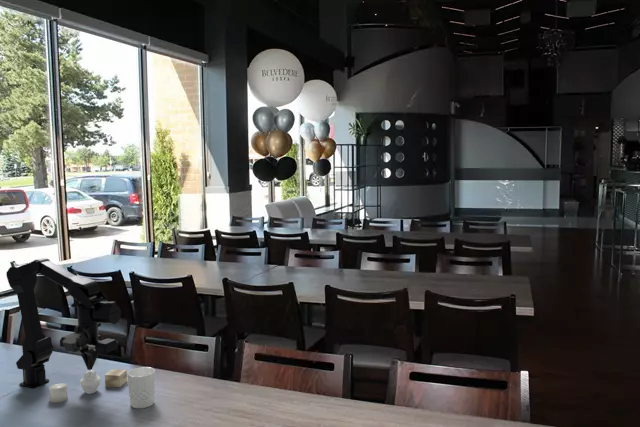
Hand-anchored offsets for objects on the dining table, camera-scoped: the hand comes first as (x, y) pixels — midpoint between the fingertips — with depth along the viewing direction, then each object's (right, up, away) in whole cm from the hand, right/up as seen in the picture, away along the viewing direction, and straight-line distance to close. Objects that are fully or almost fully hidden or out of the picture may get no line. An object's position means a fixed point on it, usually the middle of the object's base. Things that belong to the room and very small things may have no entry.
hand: (89, 369), depth 178 cm
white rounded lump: (-8, -8, -5) cm, 12 cm away
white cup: (+19, -8, -8) cm, 22 cm away
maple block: (+6, -7, +7) cm, 11 cm away
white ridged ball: (0, -7, +1) cm, 8 cm away
